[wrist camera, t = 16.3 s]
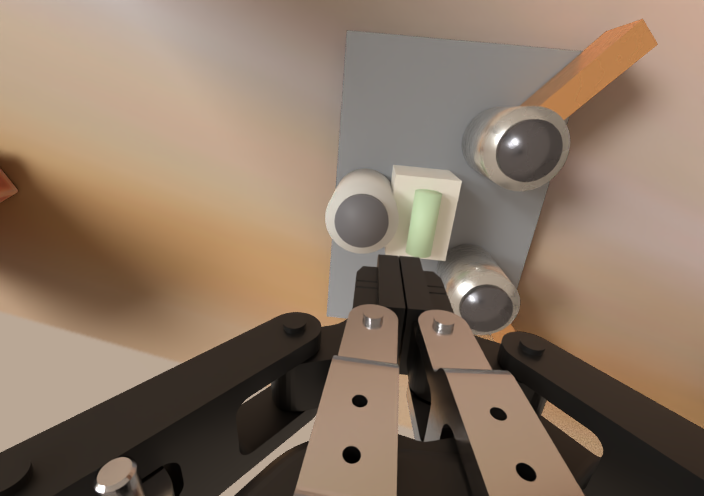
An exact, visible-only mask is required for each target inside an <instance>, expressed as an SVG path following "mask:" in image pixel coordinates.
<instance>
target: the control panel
mask: <svg viewBox="0 0 704 496" xmlns="http://www.w3.org/2000/svg"><path fill="white" fill-rule="evenodd" d="M17 192H18V190H17V188H16V187H15V186H14V185H13V183H12V182H11V181H10V180H9V178H8V177H7V176H6V175H5V173H4V172H3V171H2V170H1V168H0V202H2V201H4V200H6V199H7V198H9V197H11V196H12V195H14V194H16V193H17Z"/></svg>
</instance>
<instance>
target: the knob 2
mask: <svg viewBox="0 0 704 496" xmlns="http://www.w3.org/2000/svg"><path fill="white" fill-rule="evenodd" d="M656 45H658V44H657V42H656V40H655V39H654V37H653V35H652V34H651V32H650V30H649V29H648V27H647V25H646V23H645V22H644V20H643V19H641V20H638V21H635V22H632V23H629V24H626V25H623V26H620V27H617V28H614V29H611V30H608V31H606V32H605V33H604V34H602V35H601V36H600V37H599V38H598V39H597V40H595V41H594V42H593V43H592V44H591V45H590V46H588V47H587V48H586V49H585V50H584V51H583V52H581V53H580V54H579V55H578V56H577V57H576V58H575V59H573V60H572V61H571V62H570V63H569V64H568V65H566V66H565V67H564V68H563V69H562V70H561V71H559V72H558V73H557V74H556V75H555V76H554V77H552V78H551V79H550V80H549V81H548V82H547V83H545V84H544V85H543V86H542V87H541V88H540V89H539V90H537V91H536V92H535V93H534V94H533V95H532V96H530V97H529V98H528V99H527V100H526V101H525V102H523V103H522V104H521V105H520V106H505V107H493V108H489V109H487V110H484V111H483V112H481V113H479V114H478V115H477V116H475V117H474V118H473V119H472V121H471V122H470V123H469V125H468V126H467V128H466V130H465V132H464V135H463V139H462V152H463V155H464V158H465V160H466V162H467V163H468V165H469V166H470V167H471V168H473V169H474V170H475V171H477V172H479V173H480V174H482V175H483V176H485V177H486V178H488V179H490V180H491V181H493V182H494V183H496V184H498V185H499V186H501V187H503V188H505V189H508V190H511V191H528V190H532V189H535V188H538V187H540V186H542V185H544V184H546V183H547V182H549V181H550V180H551V179H552V178H553V177H555V175H556V174H557V173H558V172H559V171H560V170H561V168H562V167H563V165H564V163H565V161H566V159H567V157H568V154H569V149H570V134H569V130H568V127H567V125H566V123H565V121H564V120H565V119H566V118H567V117H569V116H570V115H571V114H572V113H574V112H575V111H576V110H577V109H579V108H580V107H581V106H582V105H583V104H585V103H586V102H587V101H588V100H590V99H591V98H592V97H593V96H595V95H596V94H597V93H598V92H600V91H601V90H602V89H603V88H604V87H606V86H607V85H608V84H609V83H611V82H612V81H613V80H614V79H616V78H617V77H618V76H619V75H621V74H622V73H623V72H624V71H625V70H627V69H628V68H629V67H630V66H632V65H633V64H634V63H635V62H637V61H638V60H639V59H640V58H642V57H643V56H644V55H645V54H646V53H648V52H649V51H650V50H651V49H653V48H654V47H655V46H656Z"/></svg>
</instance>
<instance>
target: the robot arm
mask: <svg viewBox="0 0 704 496" xmlns="http://www.w3.org/2000/svg"><path fill="white" fill-rule="evenodd" d="M399 374H404V375H408V380H409V381H408V388H407V394H406V396H407V402H408V407H409V412H410V417H411V423H412V428H413V433H414V438H415V440H414V439H411V438H408V437H405V436H402V435H399V434H398V400H399ZM270 383H271V386H270V387H268V388H267V389H265V390H263V391H262V392H260V393H259V394H257V395H256V396H254V397H253V398H251V399H250V400H248V401H247V402H245V403H243V402H244V401H245V400H246V399H247V398H248V397H250V396H251V395H253V394H254V393H256V392H258V391H259V390H261V389H262V388H264V387H265V386H267V385H268V384H270ZM547 400H548V401H549V402H550V403H552V404H553V405H555V406H556V407H558V408H559V409H561V410H562V411H563V412H565V413H566V414H568V415H569V416H571V417H572V418H573V419H575V420H576V421H578V422H579V423H581V424H582V425H584V426H585V427H586V428H588V429H589V430H591V431H592V432H593V433H594V434H595V435H596V436H597V437H598V439H599V440H600V442H601V444H602V446H603V455H602V457H598V456H596V455H594V454H593V453H591V452H590V451H589V450H587V449H586V448H585V447H583V446H582V445H580V444H579V443H578V442H576V441H575V440H574V439H572V438H571V437H570V436H568V435H567V434H566V433H564V432H563V431H562V430H560V429H559V428H557V427H556V426H555V425H553V424H552V423H551V422H549V421H548V420H547V419H545V418H544V417H543V416H541V414H542V411H543V409H544V406H545V403H546V401H547ZM242 403H243V404H242ZM241 404H242V405H241ZM316 414H317V415H316ZM315 416H316V418H315V422H314V425H313V429H312V432H311V436H310V439H309V441H307V442H305V443H302V444H300V445H298V446H295V447H294V448H292V449H290V450H288V451H286V452H285V453H283V454H282V455H280V456H279V457H277V458H276V459H275V460H274V461H273V462H271V463H270V464H269V465H268V466H267V467H266V468H265V469H264V470H262V471H261V472H260V473H259V474H258V475H257V476H256V477H254V478H253V479H252V480H251V481H250V482H249V483H248V484H247V485H246V486H244V488H242V489H241V490H240V491H239V492H238V493H237V494H236V495H235V496H704V429H703V428H701V427H699V426H697V425H696V424H694V423H692V422H690V421H688V420H687V419H685V418H683V417H681V416H680V415H678V414H676V413H674V412H673V411H671V410H669V409H667V408H665V407H664V406H662V405H660V404H658V403H657V402H655V401H653V400H651V399H650V398H648V397H646V396H644V395H642V394H641V393H639V392H637V391H635V390H634V389H632V388H630V387H628V386H627V385H625V384H623V383H621V382H619V381H618V380H616V379H614V378H612V377H611V376H609V375H607V374H605V373H604V372H602V371H600V370H598V369H596V368H595V367H593V366H591V365H589V364H588V363H586V362H584V361H582V360H581V359H579V358H577V357H575V356H573V355H572V354H570V353H568V352H566V351H565V350H563V349H561V348H559V347H558V346H556V345H554V344H552V343H550V342H549V341H547V340H545V339H543V338H541V337H539V336H537V335H534V334H531V333H526V332H518V331H516V332H509V333H507V334H505V335H504V336H503V338H502V341H501V344H500V343H497V342H493V341H490V340H486V339H483V338H480V337H477V336H475V335H474V334H473V333H472V331H471V329H470V327H469V325H468V324H467V322H466V321H465V320H464V319H463V318H461V317H460V316H458V315H456V314H454V311H453V309H452V306H451V303H450V300H449V298H448V295H447V292H446V289H445V288H444V284H443V281H442V279H441V278H440V277H439V276H438V275H437V274H436V273H434V272H433V271H423V268H422V264H421V261H420V258H419V257H409V256H399V258H398V256H395V255H382V254H378V259H377V267H370V266H363V267H361V268H360V269H359V270H358V271H357V273H356V282H355V291H354V299H353V308H352V310H351V311H350V312H349V315H348V319H347V320H345V321H343V322H341V323H339V324H336V325H331V326H324V327H321V323H320V322H319V320H318V319H317V318H315V317H314V316H312V315H310V314H307V313H301V312H292V313H286V314H282V315H280V316H278V317H276V318H274V319H271V320H269V321H267V322H265V323H263V324H261V325H259V326H257V327H255V328H253V329H251V330H249V331H247V332H245V333H243V334H241V335H239V336H237V337H235V338H233V339H231V340H229V341H227V342H225V343H223V344H221V345H219V346H217V347H214V348H212V349H210V350H208V351H206V352H204V353H202V354H200V355H198V356H196V357H194V358H192V359H190V360H188V361H186V362H184V363H182V364H180V365H178V366H176V367H174V368H172V369H170V370H168V371H166V372H164V373H162V374H160V375H158V376H155V377H153V378H152V379H149V380H147V381H145V382H143V383H141V384H139V385H137V386H135V387H133V388H131V389H129V390H127V391H125V392H123V393H121V394H119V395H117V396H115V397H113V398H111V399H109V400H107V401H105V402H103V403H100V404H98V405H96V406H94V407H93V408H90V409H88V410H86V411H84V412H82V413H80V414H78V415H76V416H74V417H72V418H70V419H68V420H66V421H64V422H62V423H60V424H58V425H56V426H54V427H52V428H50V429H48V430H46V431H43V432H41V433H39V434H37V435H35V436H33V437H31V438H29V439H27V440H25V441H23V442H21V443H19V444H17V445H15V446H13V447H11V448H9V449H7V450H5V451H3V452H1V453H0V496H219V495H220V494H221V493H222V492H224V491H225V490H226V489H227V488H229V486H231V485H232V484H233V483H235V482H236V481H237V480H238V479H239V478H241V477H242V476H243V475H244V474H246V473H247V472H248V471H249V470H251V469H252V468H253V467H254V466H255V465H257V464H258V463H259V462H260V461H261V460H263V459H264V458H265V457H266V456H268V455H269V454H270V453H271V452H273V451H274V450H275V449H276V448H277V447H279V446H280V445H281V444H282V443H284V442H285V441H286V440H287V439H288V438H290V437H291V436H292V435H293V434H295V433H296V432H297V431H298V430H300V429H301V428H302V427H303V426H305V425H306V424H307V423H308V422H309V421H311V420H312V419H313V418H314V417H315Z"/></svg>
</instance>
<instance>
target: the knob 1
mask: <svg viewBox="0 0 704 496" xmlns="http://www.w3.org/2000/svg"><path fill="white" fill-rule="evenodd" d="M436 274H437V275H438V276H439V277H440V278H441V279H442V281H443V284H444V288H445V289H446V292H447V295H448V298H449V300H450V303H451V306H452V309H453V311H454V314H456V315H458V316H460V317H461V318H463V319H464V320H465V321H466V322H467V324H468V325H469V327H470V329H471V331H472V333H473V334H475V335H488V334H491V335H492V337H493V338H494V340H495V341H496V342H497V343H500V344H501V341H502V338H503V336H504V335H505V334H507V333H509V332H516V331H515V329H514V328H513V326H512V325H511V323H512V321H513V320H514V319H515V318H516V316H517V314H518V312H519V309H520V296H519V293H518V291H517V289H516V288H515V287H514V285H513V284H512V283H511V281H510V280H509V279H508V277H507V276H506V275H505V274H504V272H503V271H502V270H501V268H500V267H499V266H498V264H497V263H496V262H495V261H494V259H493V258H492V257H491V255H490V254H489V253H488V252H487V251H486V250H485V249H483V248H481V247H479V246H476V245H471V244H464V245H459V246H456V247H454V248H452V249H450V250H448V251H447V255H446V260H445V261H440V260H439V262H438V265H437V270H436Z"/></svg>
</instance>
